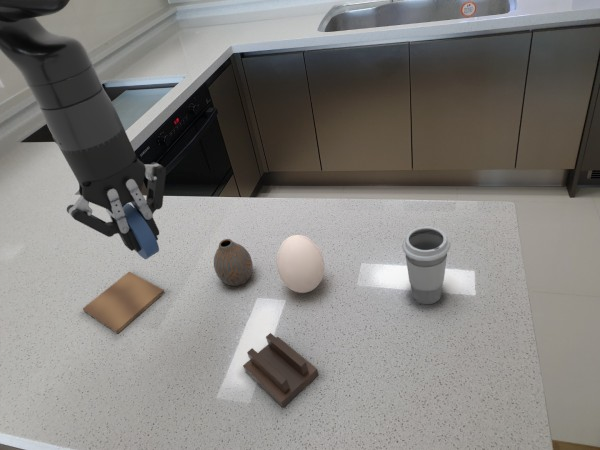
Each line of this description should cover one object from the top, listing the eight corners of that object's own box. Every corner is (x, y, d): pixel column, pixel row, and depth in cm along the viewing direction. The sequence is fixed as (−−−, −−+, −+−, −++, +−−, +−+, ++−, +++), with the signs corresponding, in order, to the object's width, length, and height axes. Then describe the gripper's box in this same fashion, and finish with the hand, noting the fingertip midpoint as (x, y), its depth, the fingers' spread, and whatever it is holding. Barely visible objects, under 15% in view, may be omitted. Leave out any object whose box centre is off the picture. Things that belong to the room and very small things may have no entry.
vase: (214, 289, 85) (199, 254, 80) (229, 263, 90) (216, 229, 85) (247, 293, 83) (234, 258, 77) (261, 267, 88) (250, 231, 82)
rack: (283, 408, 64) (277, 392, 61) (245, 371, 70) (238, 355, 67) (318, 374, 67) (314, 358, 65) (279, 342, 73) (274, 326, 71)
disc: (145, 264, 68) (148, 251, 60) (113, 221, 68) (113, 202, 61) (157, 257, 68) (161, 243, 61) (125, 214, 69) (126, 195, 62)
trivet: (117, 334, 80) (115, 331, 80) (84, 311, 87) (82, 308, 86) (164, 292, 87) (163, 289, 86) (130, 274, 93) (129, 271, 92)
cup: (419, 316, 72) (418, 260, 65) (396, 289, 77) (393, 235, 70) (457, 298, 74) (460, 241, 66) (432, 273, 79) (433, 218, 71)
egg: (337, 283, 81) (328, 234, 74) (305, 311, 77) (292, 262, 70) (306, 265, 86) (295, 217, 79) (274, 290, 82) (260, 242, 75)
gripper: (41, 168, 49) (111, 283, 59) (155, 115, 55) (199, 228, 65) (22, 150, 53) (89, 260, 64) (128, 103, 60) (174, 210, 70)
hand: (145, 243), depth 65 cm, fingers closed on disc, 2 cm apart
